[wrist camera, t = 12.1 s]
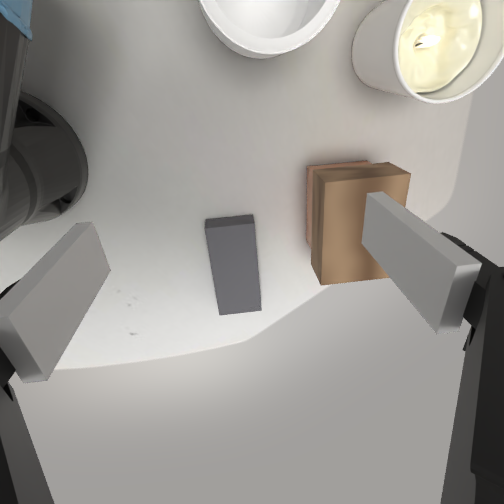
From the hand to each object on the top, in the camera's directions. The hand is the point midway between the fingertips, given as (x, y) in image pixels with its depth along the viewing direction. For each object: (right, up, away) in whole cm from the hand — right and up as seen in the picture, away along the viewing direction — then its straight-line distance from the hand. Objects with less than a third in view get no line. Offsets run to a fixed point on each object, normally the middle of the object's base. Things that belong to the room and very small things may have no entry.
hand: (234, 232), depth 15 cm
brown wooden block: (+13, +3, +24) cm, 28 cm away
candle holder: (+16, +22, +20) cm, 34 cm away
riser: (-2, -3, +32) cm, 32 cm away
